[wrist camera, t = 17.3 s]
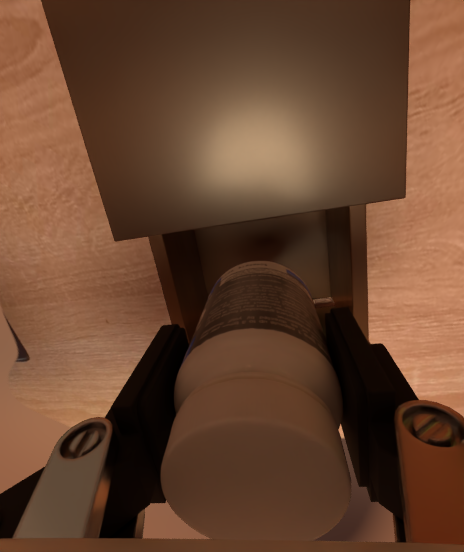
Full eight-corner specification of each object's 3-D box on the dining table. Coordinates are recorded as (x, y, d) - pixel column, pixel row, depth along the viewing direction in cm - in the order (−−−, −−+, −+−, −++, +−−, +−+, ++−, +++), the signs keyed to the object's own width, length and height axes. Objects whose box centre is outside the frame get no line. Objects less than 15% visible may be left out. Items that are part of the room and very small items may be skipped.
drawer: (351, 375, 27) (383, 455, 19) (213, 384, 29) (196, 460, 21) (341, 138, 20) (383, 126, 13) (164, 171, 22) (115, 176, 15)
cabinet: (349, 182, 22) (406, 198, 13) (170, 211, 24) (114, 241, 15) (339, -85, 17) (419, -351, 8) (116, -20, 19) (-14, -176, 10)
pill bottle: (194, 273, 14) (101, 423, 6) (298, 246, 13) (350, 380, 5) (226, 359, 15) (186, 570, 7) (322, 340, 14) (389, 558, 6)
